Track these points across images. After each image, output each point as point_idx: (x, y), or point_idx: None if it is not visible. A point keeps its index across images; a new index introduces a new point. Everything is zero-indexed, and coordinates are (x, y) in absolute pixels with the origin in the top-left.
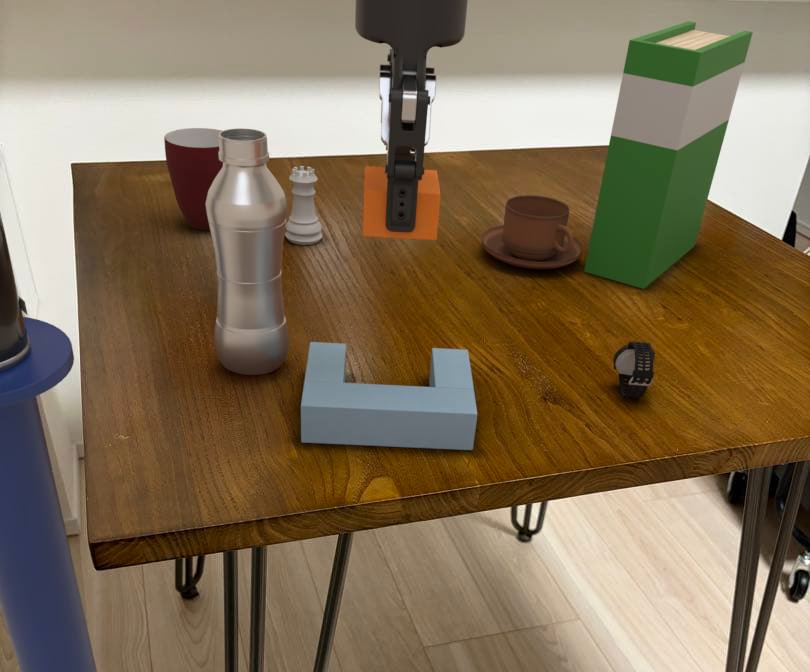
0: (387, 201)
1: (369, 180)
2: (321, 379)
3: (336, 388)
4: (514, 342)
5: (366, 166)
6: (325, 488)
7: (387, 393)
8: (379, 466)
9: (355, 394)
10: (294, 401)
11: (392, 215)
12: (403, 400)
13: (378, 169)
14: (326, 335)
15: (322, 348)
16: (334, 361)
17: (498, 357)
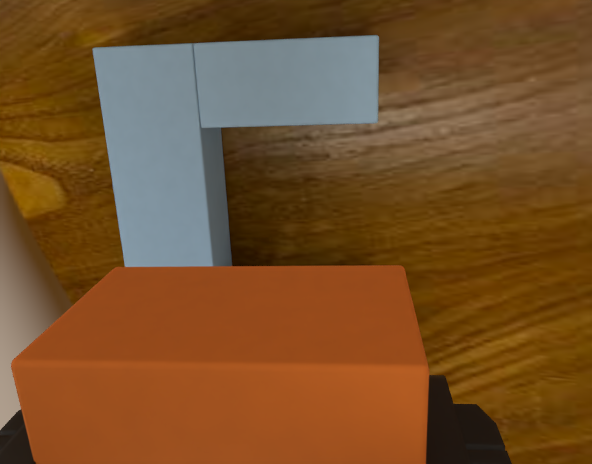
0: (15, 437)
1: (162, 387)
2: (204, 80)
3: (173, 115)
4: (548, 428)
5: (421, 374)
6: (10, 105)
7: (174, 216)
8: (90, 187)
9: (157, 155)
10: (271, 15)
11: (4, 426)
12: (155, 244)
13: (374, 435)
14: (581, 54)
15: (345, 69)
16: (286, 102)
17: (484, 395)
